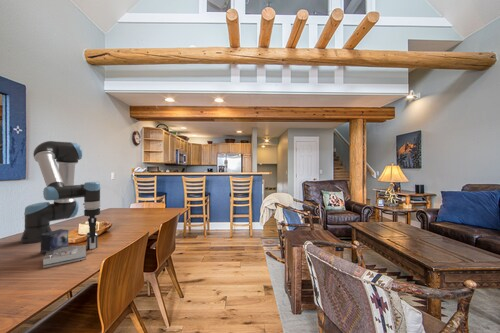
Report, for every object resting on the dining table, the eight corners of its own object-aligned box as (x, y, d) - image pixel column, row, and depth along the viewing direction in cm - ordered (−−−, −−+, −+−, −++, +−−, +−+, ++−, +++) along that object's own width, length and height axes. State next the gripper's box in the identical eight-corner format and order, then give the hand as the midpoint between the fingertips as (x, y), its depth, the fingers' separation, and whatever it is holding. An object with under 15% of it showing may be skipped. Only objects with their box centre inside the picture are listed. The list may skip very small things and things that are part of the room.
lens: (86, 247, 127) (86, 232, 127) (97, 245, 130) (97, 230, 130) (86, 250, 123) (86, 234, 123) (97, 248, 126) (98, 233, 126)
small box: (49, 254, 117) (49, 235, 117) (39, 253, 119) (39, 234, 119) (69, 247, 128) (69, 229, 128) (60, 246, 129) (60, 228, 129)
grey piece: (46, 259, 111) (46, 249, 111) (85, 251, 121) (85, 242, 121) (43, 268, 101) (43, 257, 101) (86, 259, 111) (86, 249, 111)
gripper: (84, 206, 134) (84, 240, 134) (84, 212, 114) (84, 253, 114) (99, 204, 138) (99, 238, 138) (101, 211, 119) (101, 249, 119)
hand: (92, 245), depth 126 cm, fingers open, 12 cm apart
